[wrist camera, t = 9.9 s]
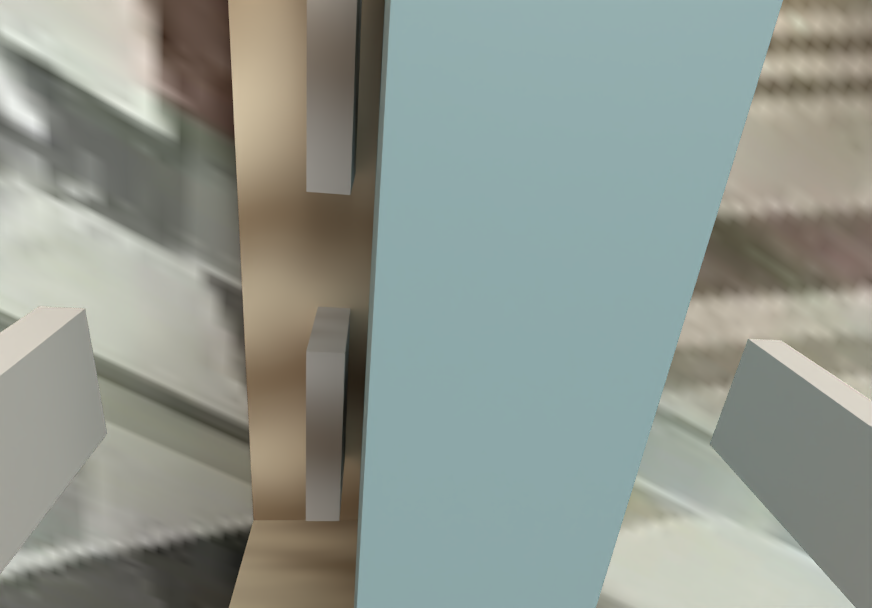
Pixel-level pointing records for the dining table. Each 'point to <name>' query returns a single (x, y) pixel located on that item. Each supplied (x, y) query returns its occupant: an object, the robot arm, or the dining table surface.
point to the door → (533, 279)
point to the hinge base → (305, 284)
